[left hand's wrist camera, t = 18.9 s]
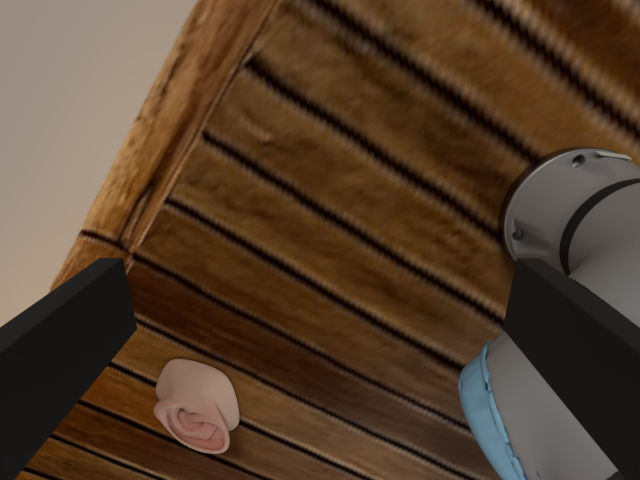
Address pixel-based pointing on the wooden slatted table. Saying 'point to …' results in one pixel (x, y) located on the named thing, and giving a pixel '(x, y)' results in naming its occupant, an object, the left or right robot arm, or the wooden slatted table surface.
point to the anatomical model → (197, 405)
